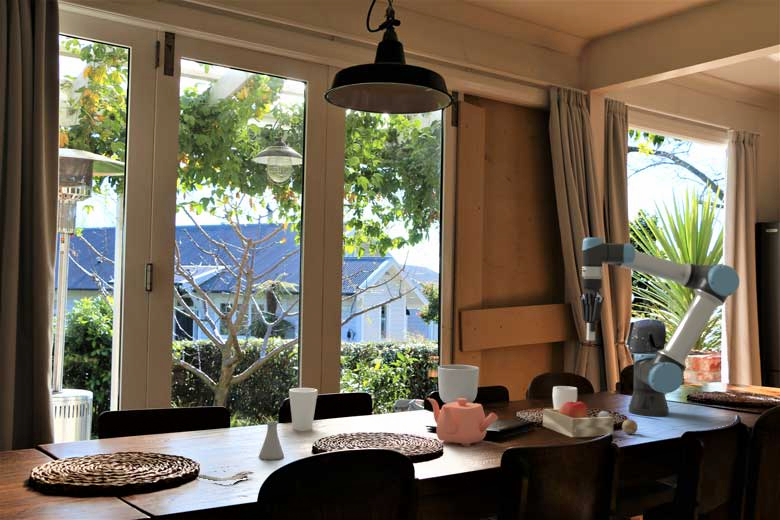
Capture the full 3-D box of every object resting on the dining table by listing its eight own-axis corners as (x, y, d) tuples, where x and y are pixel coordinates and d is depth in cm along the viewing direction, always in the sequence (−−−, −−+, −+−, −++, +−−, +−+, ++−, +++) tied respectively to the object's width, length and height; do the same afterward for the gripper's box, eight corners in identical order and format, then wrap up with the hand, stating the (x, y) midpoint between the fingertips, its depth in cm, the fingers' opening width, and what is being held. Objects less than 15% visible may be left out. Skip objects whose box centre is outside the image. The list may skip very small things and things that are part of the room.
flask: (259, 454, 221) (260, 419, 221) (285, 454, 221) (285, 419, 221) (257, 460, 213) (258, 424, 214) (283, 460, 214) (284, 424, 214)
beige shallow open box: (581, 424, 277) (582, 407, 277) (613, 435, 259) (613, 417, 259) (542, 426, 272) (543, 409, 272) (572, 437, 254) (572, 419, 254)
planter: (433, 400, 321) (434, 364, 321) (473, 401, 323) (474, 364, 323) (440, 408, 304) (441, 369, 304) (482, 408, 306) (483, 370, 306)
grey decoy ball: (605, 422, 283) (605, 409, 283) (612, 424, 278) (613, 412, 278) (595, 422, 281) (595, 410, 281) (602, 425, 277) (602, 412, 277)
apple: (583, 427, 271) (583, 399, 272) (590, 433, 262) (590, 403, 262) (555, 426, 271) (556, 398, 272) (562, 432, 262) (562, 403, 262)
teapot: (442, 449, 232) (443, 404, 232) (425, 436, 250) (426, 394, 250) (498, 448, 236) (499, 403, 236) (478, 435, 254) (479, 393, 254)
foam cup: (321, 427, 260) (322, 389, 260) (307, 432, 252) (308, 393, 252) (297, 424, 264) (298, 387, 264) (282, 429, 256) (283, 390, 256)
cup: (574, 418, 289) (575, 386, 289) (578, 422, 280) (579, 390, 280) (550, 417, 290) (551, 385, 290) (553, 421, 281) (554, 389, 281)
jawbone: (242, 491, 187) (242, 483, 187) (163, 486, 190) (162, 478, 190) (254, 478, 196) (253, 470, 196) (178, 474, 199) (178, 466, 199)
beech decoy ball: (631, 432, 265) (631, 417, 265) (640, 435, 260) (640, 420, 261) (619, 432, 264) (619, 418, 264) (628, 435, 259) (628, 421, 259)
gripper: (573, 277, 296) (572, 338, 296) (593, 278, 284) (591, 341, 284) (590, 278, 299) (589, 338, 298) (610, 278, 286) (609, 341, 286)
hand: (590, 340), depth 291 cm, fingers closed
